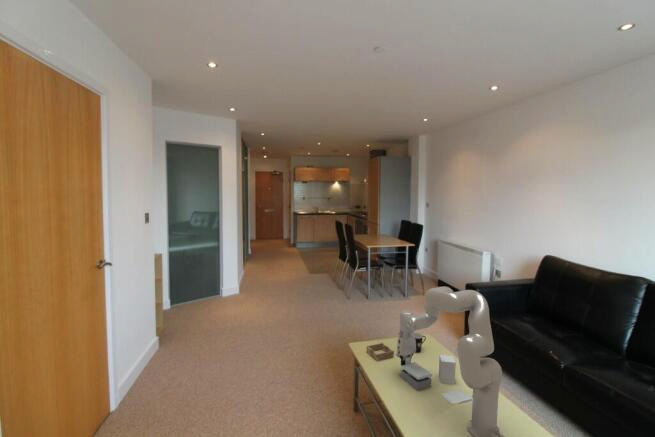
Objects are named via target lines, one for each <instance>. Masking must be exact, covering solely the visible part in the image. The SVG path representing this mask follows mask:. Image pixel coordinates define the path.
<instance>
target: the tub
mask: <svg viewBox="0 0 655 437" xmlns="http://www.w3.org/2000/svg"><path fill="white" fill-rule="evenodd" d="M400 378H401V379H402V380H403V381H404V382H406V383H407V384H408V385H409V386H410V387H411V388H413V389H415V391H417V392H420V391H422V390H425V389H428V388H431V387H432V379H431V377H426V378H425V379H426V380H422V381H419V382H417V381H416V380H415V379H414V376H413V378H412V377H411V376H410V375H408V374H407V371H405V370H404V369H403V368H402V369H401V370H400Z"/></svg>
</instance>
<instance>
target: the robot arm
mask: <svg viewBox="0 0 655 437" xmlns="http://www.w3.org/2000/svg"><path fill="white" fill-rule="evenodd" d="M423 307H424V308H423V309H424V310H425V312H422V313H417V314H414V312H413V311H412V310H409V309H403V310H401V311H400V312H399V332H398V338H397V345H396V353H395V356H396V357H397V358H400V366H401V367H402V365H405V356H407V355H408V356H409V357H410V363H412V361H411V360H412V358H413V356H414V354H416V353H415V352H416V340H415V336H414V333H415V332H416V331H420V330H424V329H427V328H430V327H431V326H433V324H435V323H437V321H438V320H439V319H440V318H439V317H440V314H441V313H442V312H446V313H451V314H457V313H460V312H462V313H463V312H465V311H469V315H468V320H467V322H468V330H469V333H468V334H466V335H463V336H462V337H460V338H459V339H458V342H457V349H456V350H457V356H458V363H459V364H458V365H459V369H460V375H461V378H462V380H463V382H464V384H465V385H466V386H467V387H468V388H470V389H472V401H471V402H472V403H471V405H472V407H471V420H468V422H467V423H466V424H467V426H466V427H467V431H468V432H469V433H470V435H471V436H472V437H505V436H504V435H503V434H502V433H501V432H500V427H499V426H498V411H499V410H498V409H499V397H500V396H499V394H500V387H501V384H502V379H503V371H502V367H501V365H500V363H499V362H498V361H497V360H496V359H494V358H491V357H487V356H490V355H491V354H492V353H493V352H494V350H495V344H494V338H493V332H492V325H491V320H490V308H489V304H488V301H487V300H486V298H485V296H484V295H483V294H481V293H480V292H479V291H477V290H473V289H463V290H458V291H454V290H453V289H451V288H450V287H449V286H436V287H432V288H429V289H427V290H426V291H425V294H424V302H423ZM402 356H403V357H402Z"/></svg>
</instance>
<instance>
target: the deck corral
mask: <svg viewBox="0 0 655 437" xmlns="http://www.w3.org/2000/svg"><path fill="white" fill-rule="evenodd" d="M381 350H382V351H384V352H381V353H377V352H378V351H381ZM366 354H368V355H369V356H370V357H371V358H373V360H375V361H376V362H381V361H385V360H388V359H394V358H395V351H394V350H393V349H391V347H389V346H387V344H385V343H384V342H379V343H376V344H375V343H374V344H371V345H367V346H366Z"/></svg>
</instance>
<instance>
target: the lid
mask: <svg viewBox="0 0 655 437" xmlns="http://www.w3.org/2000/svg"><path fill="white" fill-rule="evenodd" d="M402 357H403V356H402ZM401 368H402V370H403V369H404V370H405V371H407V372H408V373H409V374H411V375H412V376H414V377H415V378H416V379H418V380H420V379H423V378H426V377H429V378H431V377H432V376H433V373H432V372H430V371H429V370H427V369H426V368H424V367H422V366H421V365H420V364H418V363H417V362H416V361H414V362H411V363H410V357H409V356H408V355H407V356H405V365H402V366H401Z"/></svg>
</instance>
